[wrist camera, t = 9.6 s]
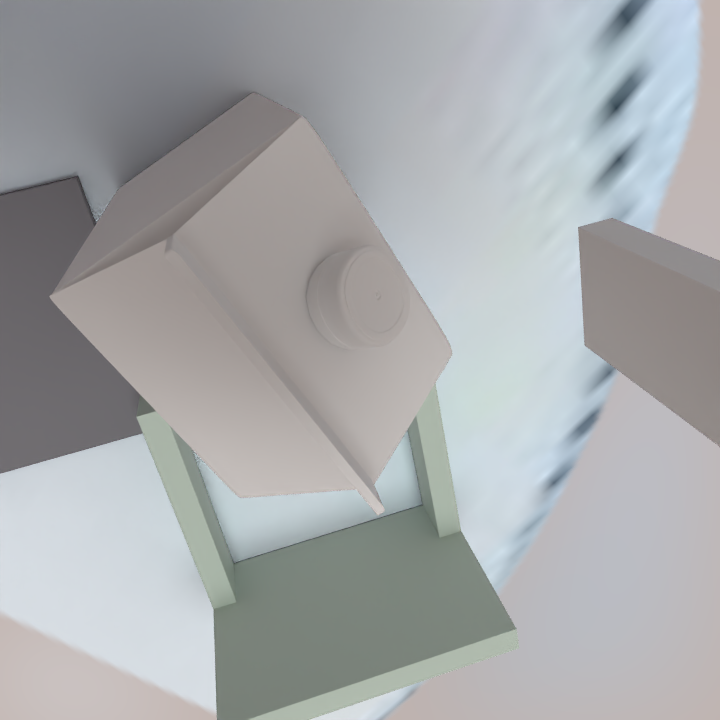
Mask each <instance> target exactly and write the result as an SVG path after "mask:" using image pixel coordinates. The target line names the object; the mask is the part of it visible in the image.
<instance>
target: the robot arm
mask: <svg viewBox="0 0 720 720" xmlns="http://www.w3.org/2000/svg"><path fill="white" fill-rule="evenodd" d="M578 232H579V250H580V268H581V287H582V305H583V324H584V342H585V346H586V347H588V348H589V349H590V350H592V351H593V352H594V353H596V354H597V355H598V356H600V357H601V358H602V359H604V360H605V361H606V362H608V363H609V364H610V365H612V366H613V367H614V368H616V369H617V370H618V371H620V372H621V373H622V374H624V375H625V376H626V377H628V378H629V379H630V380H632V381H633V382H634V383H636V384H637V385H638V386H639V387H641V388H642V389H643V390H645V391H646V392H648V393H649V394H650V395H651V396H653V397H654V398H655V399H657V400H658V401H659V402H661V403H663V404H664V405H665V406H666V407H667V408H669V409H670V410H671V411H673V412H674V413H676V414H677V415H678V416H680V417H681V418H682V419H684V420H685V421H686V422H687V423H689V424H690V425H692V426H693V427H694V428H696V429H697V430H698V431H699V432H701V433H702V434H703V435H705V436H706V437H707V438H709V439H710V440H712V441H713V442H714V443H715V444H717V445H718V446H719V447H720V261H719V260H717V259H714V258H712V257H709V256H707V255H704V254H702V253H699V252H697V251H694V250H691V249H689V248H686V247H684V246H681V245H679V244H676V243H674V242H671V241H669V240H666V239H664V238H661V237H659V236H656V235H654V234H651V233H649V232H646V231H644V230H641V229H639V228H636V227H634V226H631V225H629V224H626V223H624V222H621V221H618V220H616V219H613V218H610V219H607V220H603V221H599V222H596V223H592V224H588V225H584V226H581V227H578Z"/></svg>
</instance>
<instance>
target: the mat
mask: <svg viewBox="0 0 720 720" xmlns="http://www.w3.org/2000/svg"><path fill="white" fill-rule="evenodd" d="M95 225H96V223H95V221H94V218H93V215H92V213H91V210H90V207H89V205H88V202H87V199H86V197H85V194H84V191H83V189H82V186H81V183H80V181H79V178H78V176H77V177H73V178H69V179H65V180H60V181H56V182H52V183H48V184H44V185H39V186H35V187H31V188H27V189H23V190H19V191H14V192H10V193H6V194H2V195H0V473H4V472H8V471H11V470H15V469H18V468H22V467H25V466H29V465H32V464H36V463H39V462H43V461H46V460H50V459H53V458H57V457H60V456H64V455H67V454H71V453H75V452H78V451H82V450H85V449H89V448H92V447H96V446H99V445H103V444H106V443H110V442H113V441H117V440H120V439H124V438H127V437H131V436H134V435H138V434H141V433H143V432H142V430H141V427H140V425H139V422H138V420H137V417H136V416H137V410H138V404H139V398H140V394H139V393H138V392H137V391H136V390H135V389H134V387H133V386H132V385H131V384H130V383H129V382H128V381H127V380H126V379H125V378H124V377H123V376H122V375H121V374H120V373H119V372H118V371H117V370H116V369H115V367H114V366H113V365H112V364H111V363H110V362H109V361H108V360H107V359H106V358H105V357H104V356H103V355H102V354H101V353H100V352H99V351H98V350H97V349H96V348H95V346H94V345H93V344H92V343H91V342H90V341H89V340H88V339H87V338H86V337H85V336H84V335H83V334H82V333H81V332H80V331H79V330H78V329H77V327H76V326H75V325H74V324H73V323H72V322H71V321H70V320H69V319H68V318H67V317H66V316H65V315H64V314H63V312H62V311H61V310H60V309H59V308H58V307H57V306H56V305H55V304H54V302H53V301H52V300H51V299H50V297H49V296H50V295H51V294H52V293H53V292H54V290H55V288H56V287H57V285H58V284H59V282H60V280H61V279H62V277H63V276H64V274H65V273H66V271H67V269H68V268H69V266H70V265H71V263H72V261H73V260H74V258H75V257H76V255H77V253H78V252H79V250H80V249H81V247H82V246H83V244H84V242H85V241H86V239H87V238H88V236H89V234H90V233H91V231H92V230H93V228H94V227H95Z"/></svg>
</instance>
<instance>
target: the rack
mask: <svg viewBox="0 0 720 720" xmlns="http://www.w3.org/2000/svg"><path fill="white" fill-rule="evenodd" d="M136 417H137V420H138V422H139V425H140V427H141V430H142V432H143V435H144V437H145V440H146V442H147V445H148V447H149V450H150V452H151V455H152V457H153V460H154V462H155V465H156V467H157V470H158V472H159V475H160V477H161V480H162V482H163V485H164V487H165V490H166V492H167V495H168V497H169V499H170V502H171V504H172V507H173V509H174V512H175V514H176V517H177V519H178V522H179V524H180V527H181V529H182V532H183V534H184V537H185V539H186V542H187V544H188V547H189V549H190V552H191V554H192V557H193V559H194V562H195V564H196V567H197V569H198V572H199V574H200V577H201V579H202V582H203V584H204V587H205V589H206V592H207V594H208V597H209V599H210V602H211V604H212V607H213V609H214V639H215V672H216V704H217V720H309V719H312V718H315V717H318V716H321V715H324V714H327V713H330V712H333V711H336V710H339V709H342V708H345V707H348V706H351V705H353V704H356V703H359V702H362V701H365V700H368V699H371V698H374V697H377V696H380V695H383V694H386V693H389V692H392V691H395V690H398V689H400V688H403V687H406V686H409V685H412V684H415V683H418V682H421V681H424V680H427V679H430V678H433V677H435V676H439V675H441V674H444V673H447V672H450V671H453V670H456V669H459V668H462V667H465V666H468V665H471V664H474V663H477V662H479V661H483V660H486V659H488V658H491V657H494V656H497V655H500V654H503V653H506V652H509V651H512V650H515V649H518V648H519V645H518V637H517V630H516V627H515V626H514V624H513V622H512V620H511V619H510V617H509V615H508V613H507V612H506V610H505V608H504V606H503V604H502V603H501V601H500V599H499V597H498V596H497V594H496V592H495V590H494V588H493V587H492V585H491V583H490V581H489V580H488V578H487V576H486V574H485V573H484V571H483V569H482V567H481V566H480V564H479V562H478V560H477V558H476V557H475V555H474V553H473V551H472V550H471V548H470V546H469V544H468V543H467V541H466V539H465V537H464V535H463V534H462V532H461V528H460V522H459V517H458V511H457V505H456V499H455V494H454V488H453V482H452V476H451V471H450V465H449V459H448V453H447V447H446V442H445V436H444V430H443V424H442V419H441V413H440V407H439V401H438V396H437V390H436V384H435V385H434V386H433V388H432V389H431V391H430V393H429V394H428V396H427V398H426V399H425V401H424V403H423V404H422V406H421V408H420V409H419V411H418V413H417V414H416V416H415V418H414V419H413V421H412V423H411V424H410V426H409V428H408V433H409V438H410V443H411V448H412V453H413V458H414V463H415V468H416V473H417V478H418V483H419V488H420V493H421V498H422V503H423V505H421V506H418V507H415V508H411V509H408V510H405V511H402V512H398V513H395V514H392V515H389V516H386V517H382V518H379V519H376V520H373V521H369V522H366V523H363V524H360V525H357V526H353V527H350V528H347V529H344V530H340V531H337V532H334V533H331V534H327V535H324V536H321V537H318V538H315V539H311V540H308V541H305V542H302V543H298V544H295V545H292V546H289V547H286V548H282V549H279V550H276V551H273V552H269V553H266V554H263V555H260V556H257V557H253V558H250V559H247V560H244V561H240V562H237V563H233V560H232V557H231V555H230V552H229V549H228V547H227V544H226V541H225V538H224V536H223V533H222V530H221V528H220V525H219V522H218V519H217V517H216V514H215V511H214V509H213V506H212V503H211V500H210V498H209V495H208V492H207V490H206V487H205V484H204V481H203V479H202V476H201V473H200V471H199V468H198V465H197V463H196V460H195V457H194V454H193V452H192V449H191V447H190V446H189V445H188V444H187V443H186V442H185V441H184V440H183V439H182V438H181V437H180V436H179V435H178V434H177V433H176V432H175V431H174V430H173V429H172V427H171V426H170V425H169V424H168V423H167V422H166V421H165V420H164V419H163V418H162V417H161V416H160V415H159V414H158V413H157V412H156V411H155V410H154V409H153V407H152V406H151V405H150V404H149V403H148V402H147V401H146V400H145V399H144V398H143V397H142V396H141V395H140V398H139V404H138V410H137V416H136Z"/></svg>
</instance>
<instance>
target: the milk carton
mask: <svg viewBox="0 0 720 720" xmlns="http://www.w3.org/2000/svg"><path fill="white" fill-rule="evenodd" d="M49 297H50V299H51V300H52V301H53V302H54V304H55V305H56V306H57V307H58V308H59V309H60V310H61V311H62V312H63V314H64V315H65V316H66V317H67V318H68V319H69V320H70V321H71V322H72V323H73V324H74V325H75V326H76V327H77V329H78V330H79V331H80V332H81V333H82V334H83V335H84V336H85V337H86V338H87V339H88V340H89V341H90V342H91V343H92V344H93V345H94V346H95V348H96V349H97V350H98V351H99V352H100V353H101V354H102V355H103V356H104V357H105V358H106V359H107V360H108V361H109V362H110V363H111V364H112V365H113V366H114V367H115V369H116V370H117V371H118V372H119V373H120V374H121V375H122V376H123V377H124V378H125V379H126V380H127V381H128V382H129V383H130V384H131V385H132V386H133V387H134V389H135V390H136V391H137V392H138V393H139V394H140V395H141V396H142V397H143V398H144V399H145V400H146V401H147V402H148V403H149V404H150V405H151V406H152V407H153V409H154V410H155V411H156V412H157V413H158V414H159V415H160V416H161V417H162V418H163V419H164V420H165V421H166V422H167V423H168V424H169V425H170V426H171V427H172V429H173V430H174V431H175V432H176V433H177V434H178V435H179V436H180V437H181V438H182V439H183V440H184V441H185V442H186V443H187V444H188V445H189V446H190V447H191V449H192V450H193V451H194V452H195V453H196V454H197V455H198V456H199V457H200V458H201V459H202V460H203V461H204V462H205V463H206V464H207V465H208V466H209V467H210V469H211V470H212V471H213V472H214V473H215V474H216V475H217V476H218V477H219V478H220V479H221V480H222V481H223V482H224V483H225V484H226V485H227V486H228V487H229V488H230V489H231V490H232V491H233V492H234V493H235V494H236V495H237V496H238V497H240V498H248V497H261V496H275V495H288V494H301V493H314V492H327V491H341V490H354V489H356V490H357V491H358V492H359V494H360V495H361V496H362V497H363V498H364V500H365V501H366V502H367V503H368V505H369V506H370V507H371V508H372V509H373V511H374V512H375V513H376V514H377V515H380V514H381V513H383V512H384V511H385V510H384V507H383V505H382V503H381V500H380V498H379V495H378V493H377V491H376V488H375V486H374V484H375V482H376V481H377V479H378V477H379V476H380V474H381V473H382V471H383V469H384V468H385V466H386V464H387V463H388V461H389V459H390V458H391V456H392V454H393V453H394V451H395V449H396V448H397V446H398V444H399V443H400V441H401V439H402V438H403V436H404V434H405V433H406V431H407V429H408V428H409V426H410V424H411V423H412V421H413V419H414V418H415V416H416V414H417V413H418V411H419V409H420V408H421V406H422V404H423V403H424V401H425V399H426V398H427V396H428V394H429V393H430V391H431V389H432V388H433V386H434V385H435V383H436V381H437V380H438V378H439V376H440V375H441V373H442V371H443V370H444V368H445V366H446V365H447V363H448V361H449V359H450V358H451V356H452V350H451V346H450V344H449V342H448V340H447V338H446V336H445V335H444V333H443V331H442V329H441V328H440V326H439V324H438V323H437V321H436V319H435V318H434V316H433V315H432V313H431V311H430V310H429V308H428V307H427V305H426V303H425V302H424V300H423V299H422V297H421V296H420V294H419V292H418V291H417V289H416V288H415V286H414V284H413V283H412V281H411V280H410V278H409V277H408V275H407V273H406V272H405V270H404V269H403V267H402V266H401V264H400V262H399V261H398V259H397V258H396V256H395V255H394V253H393V251H392V250H391V248H390V247H389V245H388V244H387V242H386V240H385V239H384V237H383V236H382V234H381V232H380V231H379V229H378V228H377V226H376V225H375V223H374V221H373V220H372V218H371V217H370V215H369V214H368V212H367V210H366V209H365V207H364V206H363V204H362V202H361V201H360V199H359V198H358V196H357V195H356V193H355V191H354V190H353V188H352V187H351V185H350V184H349V182H348V180H347V179H346V177H345V176H344V174H343V173H342V171H341V169H340V168H339V166H338V165H337V163H336V162H335V160H334V158H333V157H332V155H331V154H330V152H329V151H328V149H327V148H326V146H325V145H324V143H323V142H322V140H321V139H320V137H319V136H318V134H317V133H316V131H315V130H314V128H313V127H312V126H311V124H310V123H309V122H308V121H307V119H306V118H305V117H303V116H302V115H300V114H298V113H296V112H294V111H292V110H290V109H288V108H286V107H284V106H282V105H280V104H278V103H276V102H274V101H271V100H269V99H267V98H265V97H263V96H261V95H259V94H257V93H255V92H253V93H251V94H250V95H248V96H247V97H245V98H244V99H243V100H241V101H240V102H239V103H237V104H236V105H234V106H233V107H232V108H230V109H229V110H227V111H226V112H225V113H223V114H222V115H220V116H219V117H218V118H216V119H215V120H213V121H212V122H211V123H209V124H208V125H207V126H205V127H204V128H202V129H201V130H200V131H198V132H197V133H195V134H194V135H193V136H191V137H190V138H188V139H187V140H186V141H184V142H183V143H181V144H180V145H179V146H177V147H176V148H175V149H173V150H172V151H170V152H169V153H168V154H166V155H165V156H163V157H162V158H161V159H159V160H158V161H156V162H155V163H154V164H152V165H151V166H149V167H148V168H147V169H145V170H144V171H143V172H141V173H140V174H138V175H137V176H136V177H134V178H133V179H131V180H130V181H129V182H127V183H126V184H124V185H123V186H122V187H120V188H119V189H118V190H117V192H116V193H115V195H114V196H113V198H112V200H111V201H110V203H109V204H108V206H107V208H106V209H105V211H104V212H103V214H102V215H101V217H100V219H99V220H98V222H97V223H96V225H95V227H94V228H93V230H92V231H91V233H90V234H89V236H88V238H87V239H86V241H85V242H84V244H83V246H82V247H81V249H80V250H79V252H78V253H77V255H76V257H75V258H74V260H73V261H72V263H71V265H70V266H69V268H68V269H67V271H66V273H65V274H64V276H63V277H62V279H61V280H60V282H59V284H58V285H57V287H56V288H55V290H54V292H53V293H52V294H51V295H50V296H49Z"/></svg>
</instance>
